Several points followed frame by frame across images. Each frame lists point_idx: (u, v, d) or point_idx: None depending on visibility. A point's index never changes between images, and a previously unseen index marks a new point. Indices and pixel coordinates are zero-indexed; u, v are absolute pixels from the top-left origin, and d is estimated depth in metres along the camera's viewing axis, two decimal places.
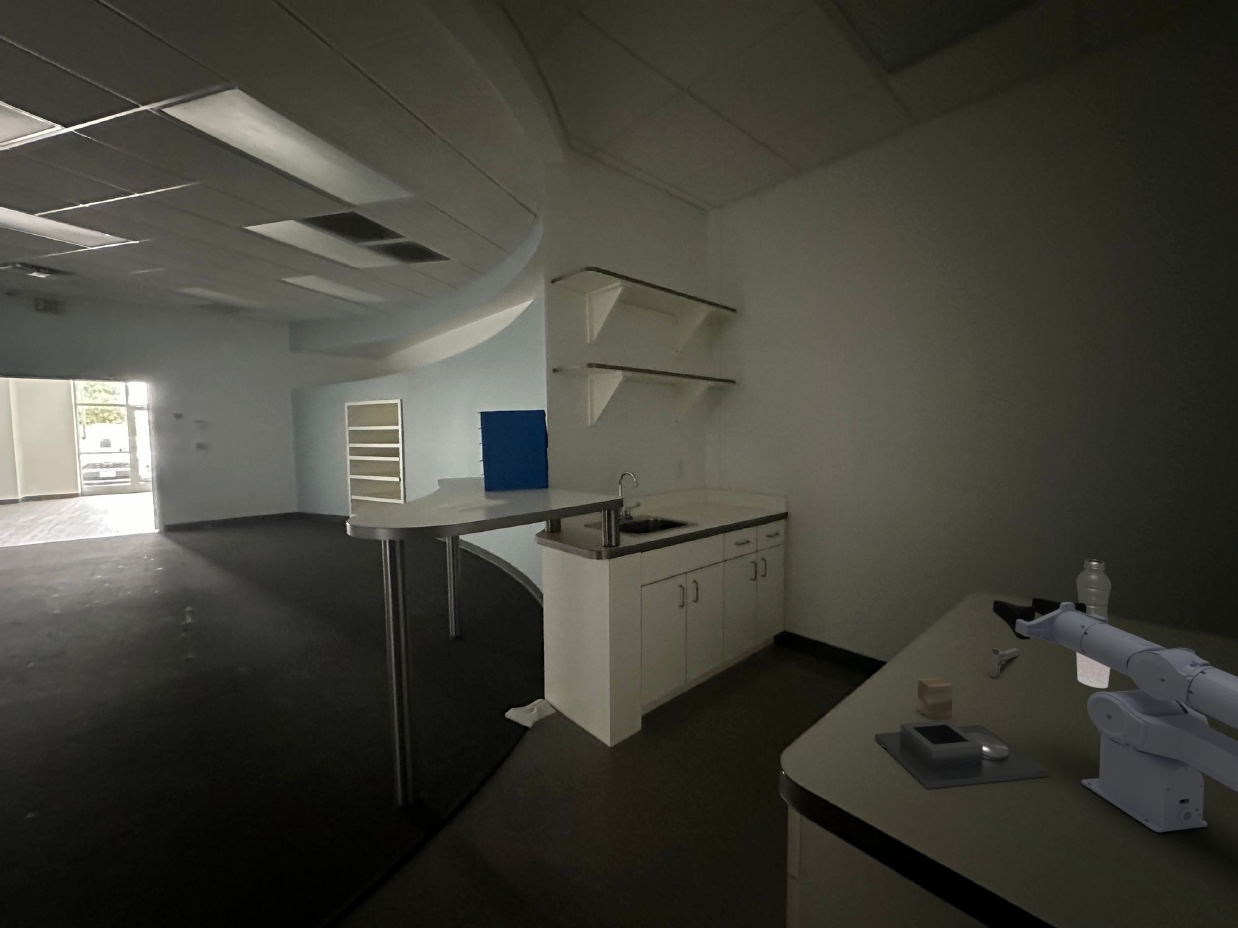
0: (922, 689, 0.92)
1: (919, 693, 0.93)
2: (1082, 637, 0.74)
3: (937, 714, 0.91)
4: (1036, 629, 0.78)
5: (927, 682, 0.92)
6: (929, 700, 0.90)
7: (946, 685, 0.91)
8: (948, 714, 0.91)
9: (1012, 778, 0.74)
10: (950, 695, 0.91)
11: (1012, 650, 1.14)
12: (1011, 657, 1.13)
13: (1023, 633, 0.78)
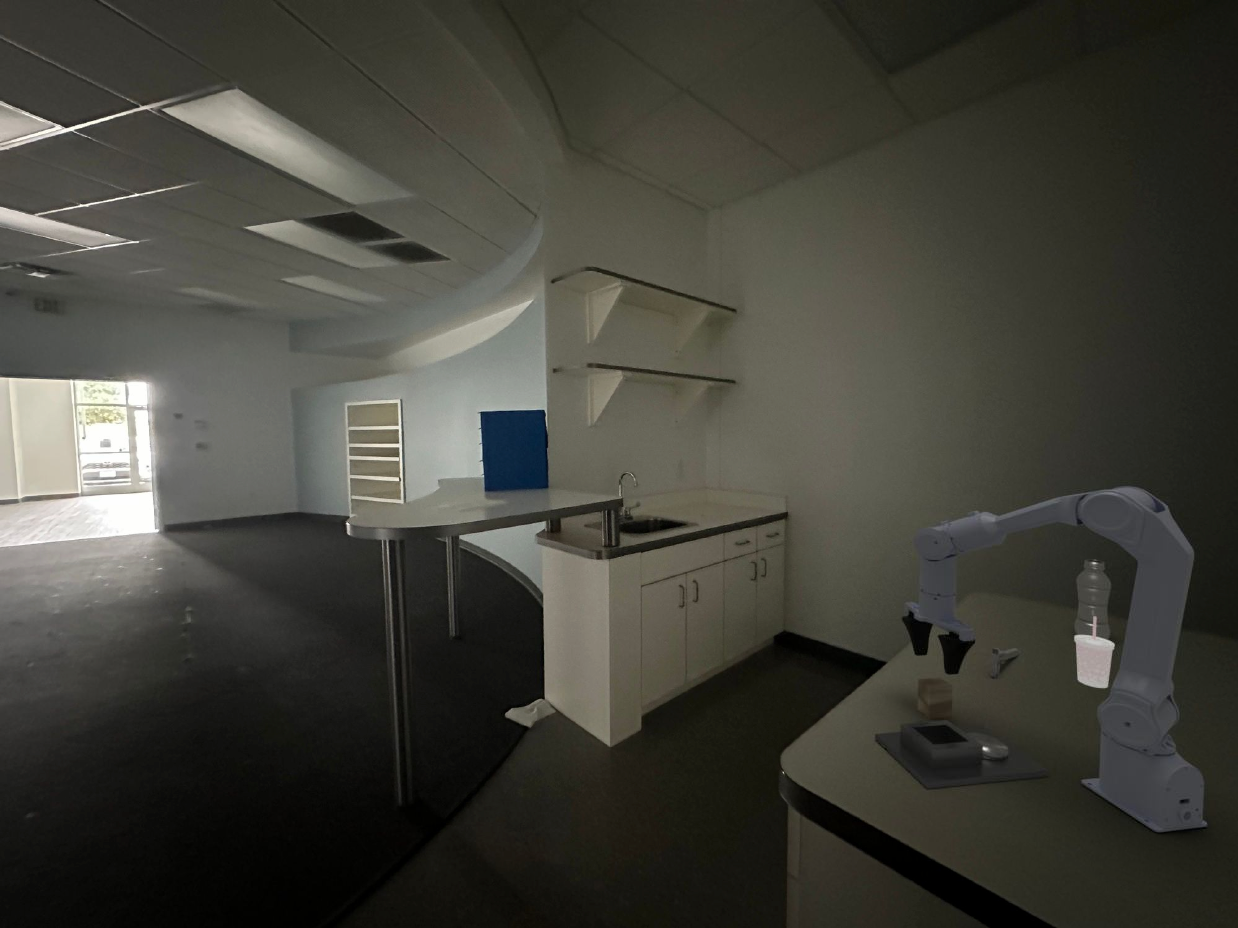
0: (922, 688, 0.92)
1: (919, 693, 0.93)
2: (945, 595, 0.88)
3: (937, 714, 0.91)
4: (960, 626, 0.86)
5: (927, 682, 0.92)
6: (929, 700, 0.90)
7: (946, 685, 0.91)
8: (948, 714, 0.91)
9: (1012, 778, 0.74)
10: (950, 695, 0.91)
11: (1012, 650, 1.14)
12: (1011, 657, 1.13)
13: (972, 632, 0.84)
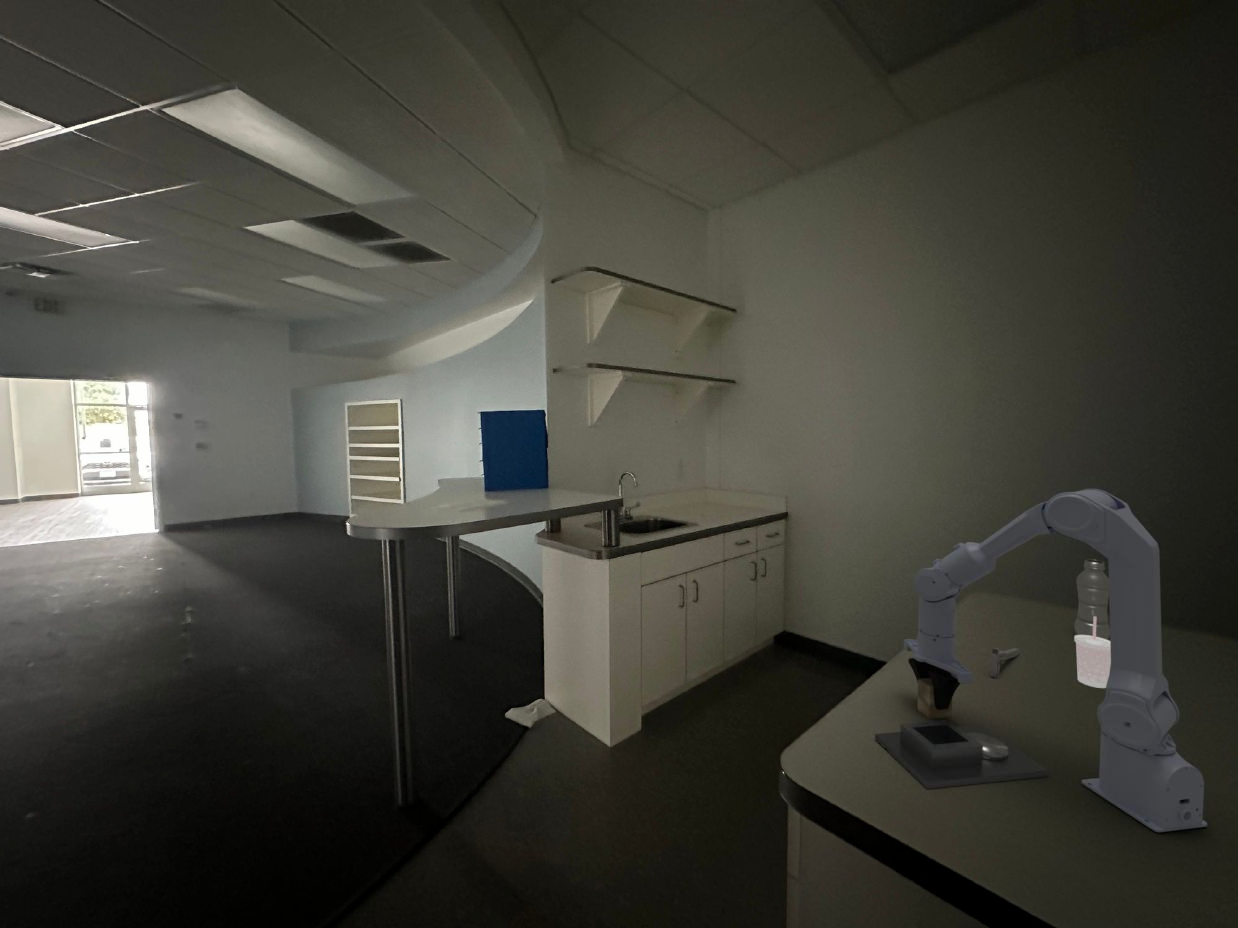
0: (922, 688, 0.92)
1: (919, 693, 0.93)
2: (944, 637, 0.89)
3: (937, 714, 0.91)
4: (959, 668, 0.86)
5: (927, 682, 0.92)
6: (929, 699, 0.90)
7: None
8: (948, 714, 0.91)
9: (1012, 778, 0.74)
10: None
11: (1012, 650, 1.14)
12: (1011, 657, 1.13)
13: (971, 675, 0.85)
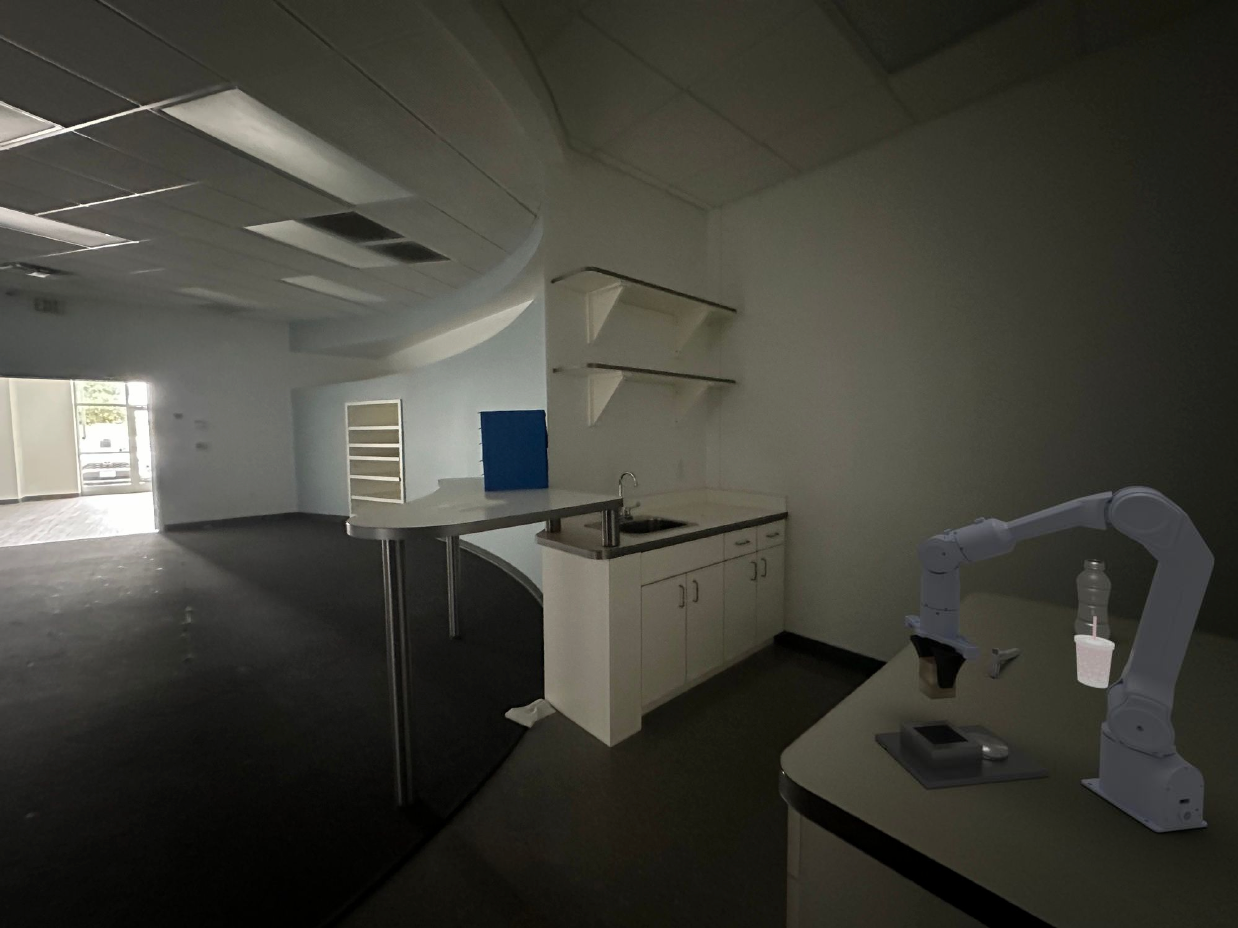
0: (923, 667, 0.86)
1: (920, 672, 0.87)
2: (947, 610, 0.82)
3: (940, 694, 0.84)
4: (964, 643, 0.80)
5: (929, 660, 0.86)
6: (931, 679, 0.84)
7: None
8: (952, 694, 0.85)
9: (1012, 778, 0.74)
10: None
11: (1012, 650, 1.14)
12: (1011, 657, 1.13)
13: (977, 650, 0.78)
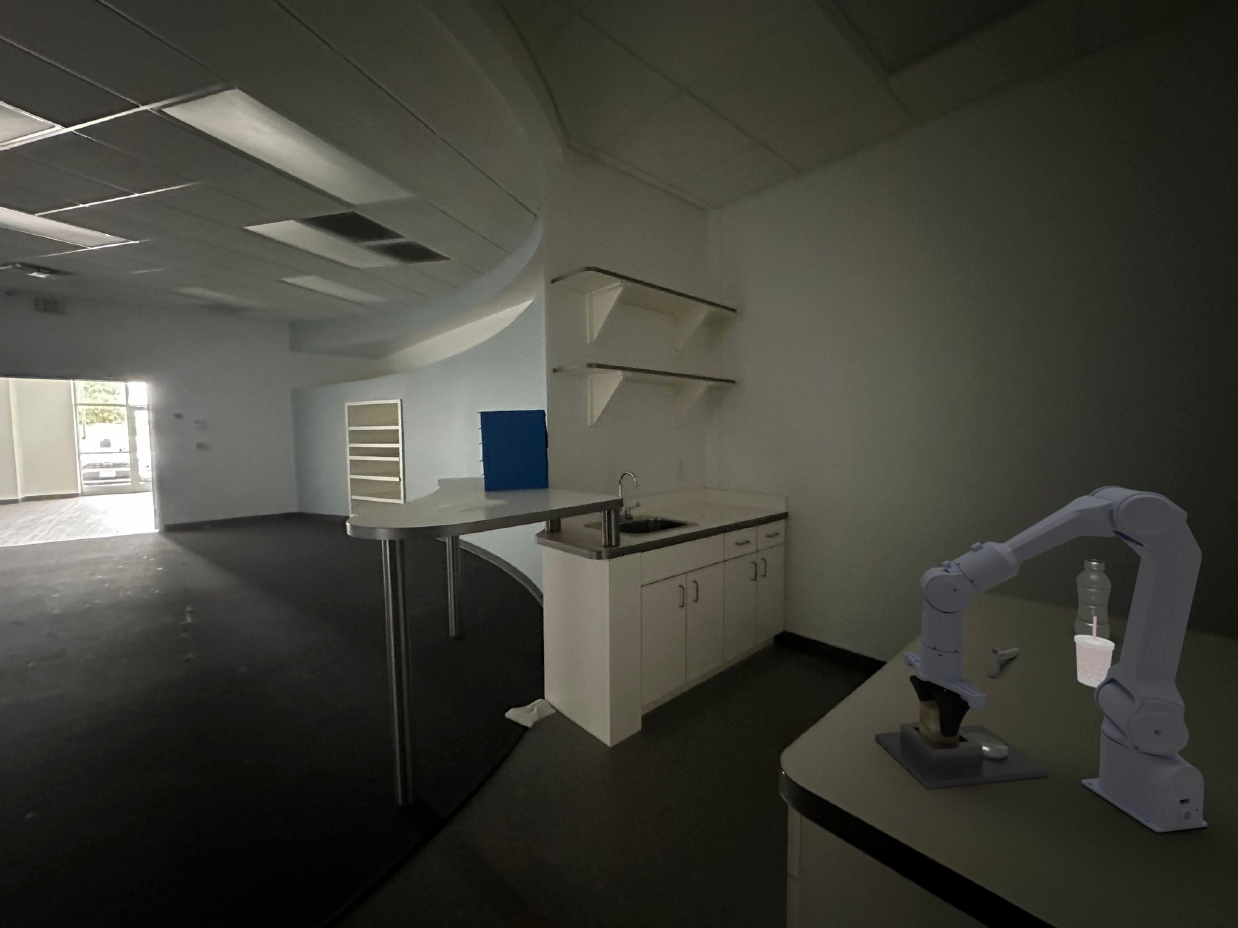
0: (924, 713, 0.79)
1: (921, 718, 0.80)
2: (951, 652, 0.75)
3: (942, 743, 0.77)
4: (969, 689, 0.73)
5: (930, 705, 0.79)
6: (933, 726, 0.77)
7: None
8: None
9: (1012, 778, 0.74)
10: None
11: (1012, 650, 1.15)
12: (1011, 657, 1.13)
13: (984, 698, 0.71)
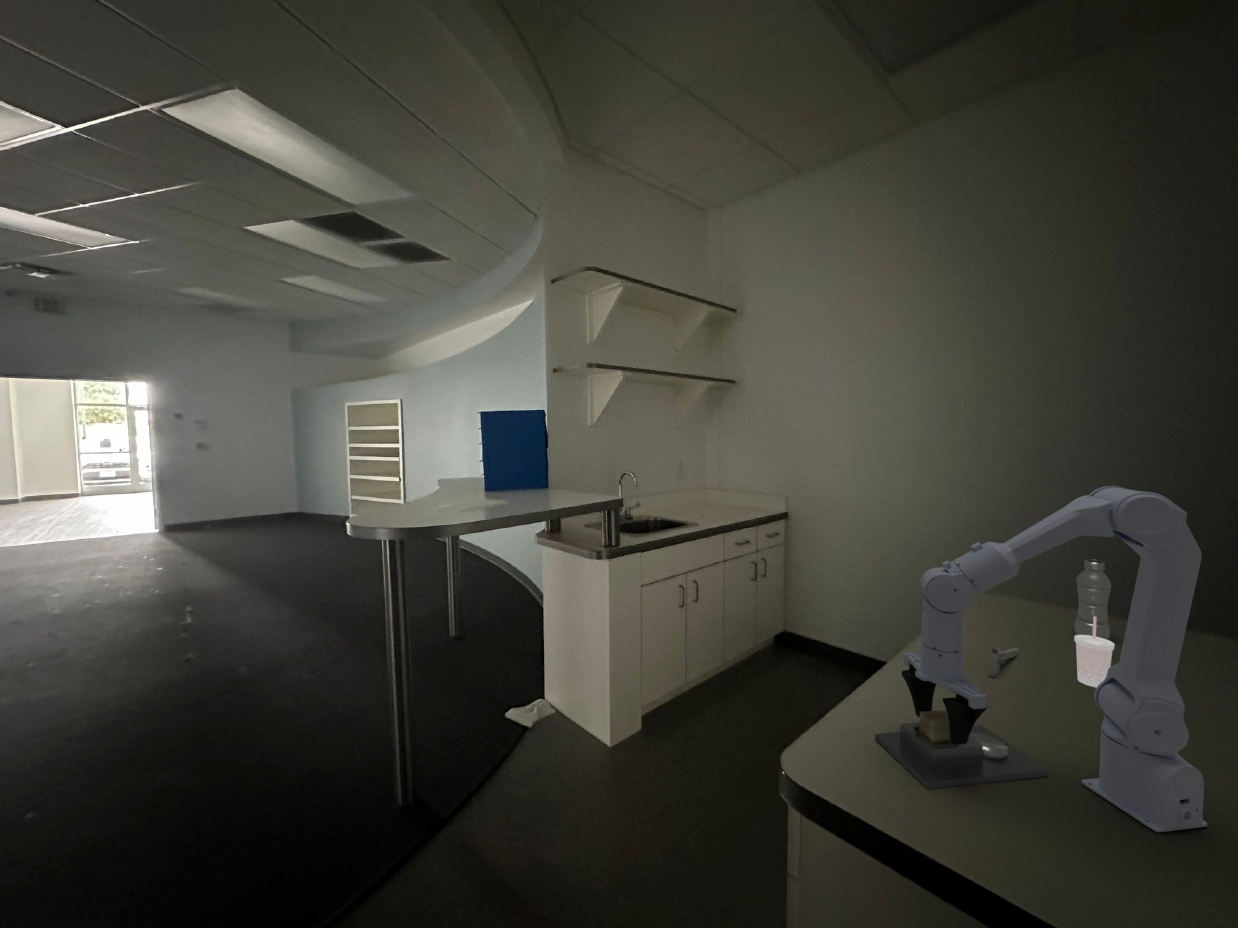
0: (924, 723, 0.79)
1: (921, 728, 0.80)
2: (951, 652, 0.75)
3: None
4: (969, 690, 0.73)
5: (930, 716, 0.79)
6: (932, 737, 0.77)
7: None
8: None
9: (1012, 778, 0.74)
10: None
11: (1012, 650, 1.15)
12: (1011, 657, 1.13)
13: (984, 698, 0.71)
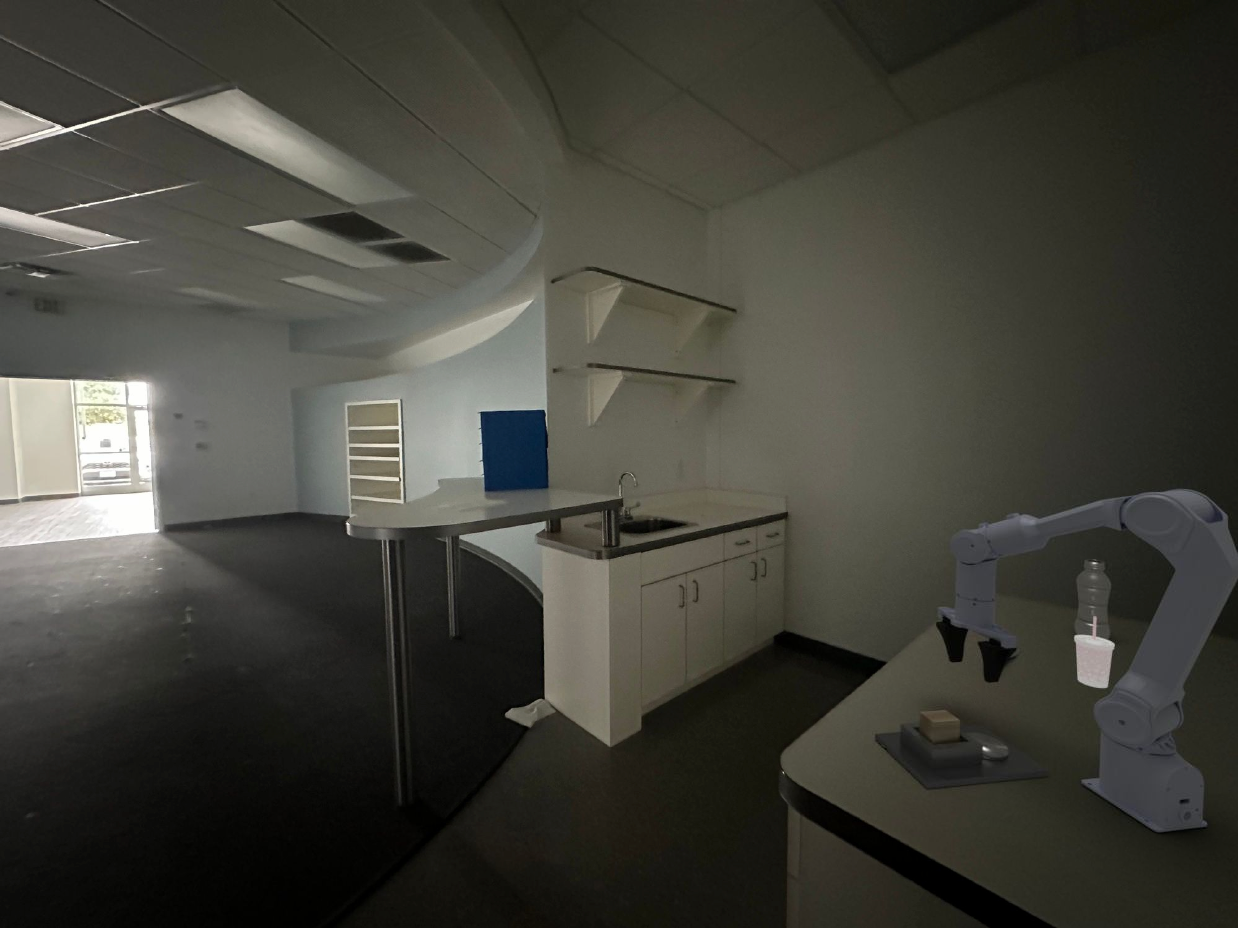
0: (924, 723, 0.79)
1: (921, 728, 0.80)
2: (984, 601, 0.85)
3: None
4: (1001, 632, 0.83)
5: (930, 716, 0.79)
6: (932, 737, 0.77)
7: (952, 720, 0.78)
8: None
9: (1012, 778, 0.74)
10: (957, 732, 0.78)
11: None
12: (1010, 657, 1.13)
13: (1015, 639, 0.81)
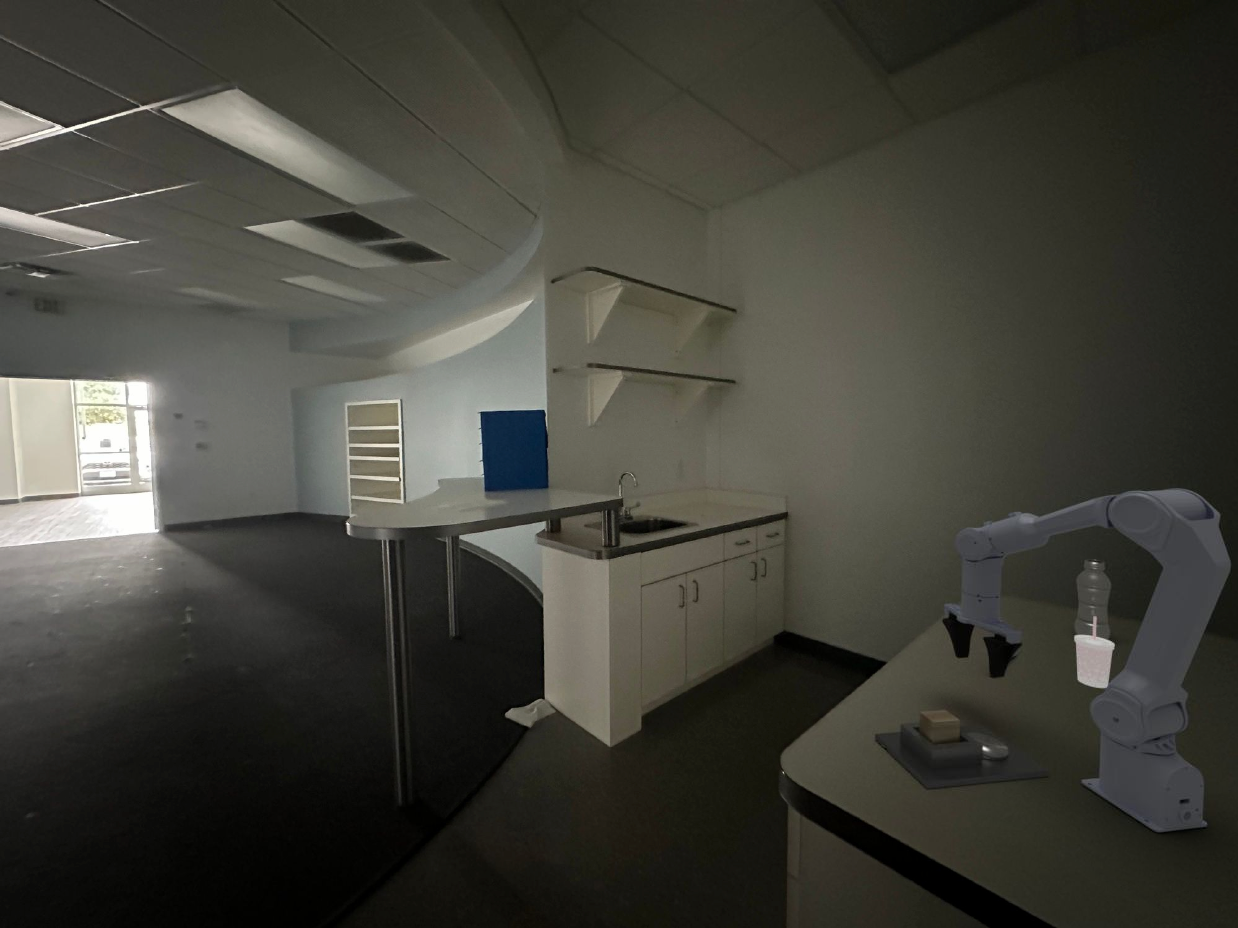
0: (924, 723, 0.79)
1: (921, 728, 0.80)
2: (990, 597, 0.87)
3: None
4: (1006, 628, 0.85)
5: (930, 716, 0.79)
6: (932, 737, 0.77)
7: (952, 720, 0.78)
8: None
9: (1012, 778, 0.74)
10: (957, 732, 0.78)
11: None
12: None
13: (1020, 634, 0.83)
